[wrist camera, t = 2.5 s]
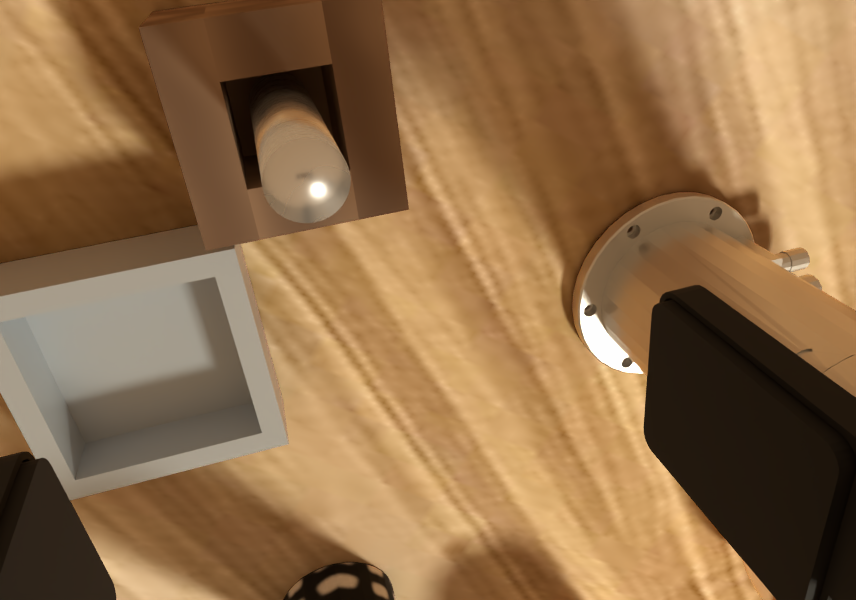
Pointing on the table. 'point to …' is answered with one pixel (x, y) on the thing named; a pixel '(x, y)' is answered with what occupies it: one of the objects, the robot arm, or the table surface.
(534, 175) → the table surface
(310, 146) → the steel pin
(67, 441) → the tray
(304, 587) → the spotted tube
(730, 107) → the table surface
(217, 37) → the socket block
